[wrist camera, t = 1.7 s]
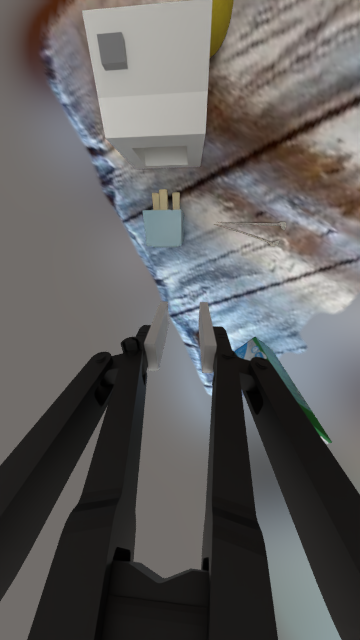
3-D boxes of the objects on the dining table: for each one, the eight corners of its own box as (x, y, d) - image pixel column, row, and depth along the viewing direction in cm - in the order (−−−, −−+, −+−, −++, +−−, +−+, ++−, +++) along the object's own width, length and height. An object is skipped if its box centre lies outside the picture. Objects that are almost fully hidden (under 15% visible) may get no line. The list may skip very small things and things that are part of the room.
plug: (183, 196, 30) (181, 185, 22) (183, 242, 35) (181, 248, 26) (153, 197, 31) (139, 186, 22) (157, 242, 35) (147, 248, 26)
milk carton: (255, 336, 47) (307, 427, 26) (272, 350, 50) (333, 443, 29) (232, 352, 51) (262, 442, 30) (250, 364, 54) (288, 455, 33)
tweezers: (286, 222, 32) (290, 222, 30) (275, 246, 34) (278, 247, 33) (204, 208, 32) (204, 207, 31) (199, 233, 35) (199, 233, 33)
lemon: (214, -14, 19) (227, -144, 12) (232, 50, 21) (252, -31, 15) (178, 34, 21) (172, -56, 14) (198, 88, 23) (202, 32, 16)
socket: (203, 95, 24) (213, -15, 13) (200, 167, 28) (206, 129, 17) (127, 100, 24) (76, -1, 13) (135, 169, 28) (102, 134, 18)
